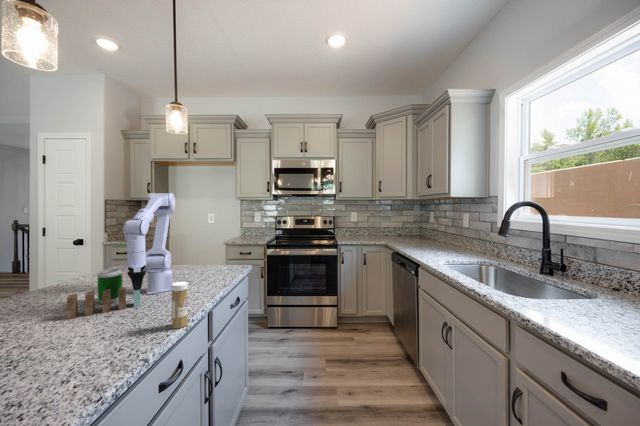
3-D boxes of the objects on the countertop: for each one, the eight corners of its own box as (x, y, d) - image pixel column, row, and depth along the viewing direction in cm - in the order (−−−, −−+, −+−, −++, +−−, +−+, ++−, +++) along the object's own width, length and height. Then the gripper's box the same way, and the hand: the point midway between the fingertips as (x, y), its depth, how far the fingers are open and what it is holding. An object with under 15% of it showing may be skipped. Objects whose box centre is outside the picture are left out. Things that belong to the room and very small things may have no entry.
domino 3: (110, 307, 96) (110, 289, 96) (110, 311, 92) (109, 292, 92) (103, 309, 95) (103, 290, 94) (102, 313, 91) (102, 293, 91)
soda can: (127, 298, 105) (126, 269, 105) (106, 305, 98) (105, 274, 97) (114, 296, 107) (113, 268, 107) (93, 303, 100) (92, 272, 100)
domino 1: (77, 313, 90) (77, 293, 90) (75, 318, 87) (75, 297, 87) (69, 315, 89) (69, 295, 89) (67, 319, 86) (66, 298, 86)
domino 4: (126, 305, 98) (125, 286, 98) (125, 308, 95) (125, 289, 95) (119, 306, 97) (119, 287, 97) (119, 310, 94) (118, 290, 93)
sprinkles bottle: (185, 328, 80) (185, 284, 79) (169, 329, 79) (168, 285, 78) (189, 321, 84) (189, 280, 84) (174, 323, 83) (173, 281, 83)
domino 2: (94, 310, 93) (94, 291, 93) (93, 314, 89) (92, 294, 89) (87, 312, 92) (86, 292, 92) (85, 316, 88) (85, 295, 88)
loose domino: (140, 302, 101) (139, 284, 101) (140, 306, 97) (140, 287, 97) (133, 303, 100) (133, 285, 100) (133, 307, 96) (133, 288, 96)
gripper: (123, 249, 102) (124, 284, 102) (122, 255, 90) (123, 294, 90) (145, 248, 106) (146, 281, 106) (147, 253, 94) (147, 290, 94)
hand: (137, 287), depth 99 cm, fingers open, 7 cm apart
